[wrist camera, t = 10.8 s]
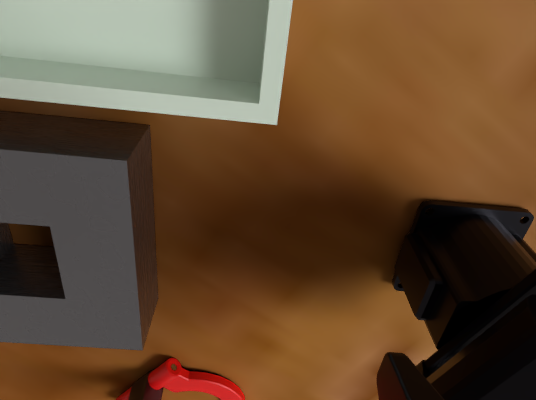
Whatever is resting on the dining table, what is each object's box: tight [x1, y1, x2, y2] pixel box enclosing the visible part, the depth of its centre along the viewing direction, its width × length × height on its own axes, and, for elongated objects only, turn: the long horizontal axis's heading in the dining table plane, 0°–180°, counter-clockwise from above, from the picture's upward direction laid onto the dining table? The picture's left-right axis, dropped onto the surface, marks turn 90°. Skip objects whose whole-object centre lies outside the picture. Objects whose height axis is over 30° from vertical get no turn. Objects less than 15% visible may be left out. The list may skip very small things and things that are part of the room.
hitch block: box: [0, 111, 158, 350], centre depth 21 cm, size 12×12×4 cm
